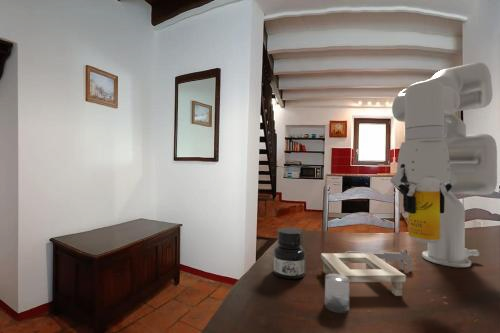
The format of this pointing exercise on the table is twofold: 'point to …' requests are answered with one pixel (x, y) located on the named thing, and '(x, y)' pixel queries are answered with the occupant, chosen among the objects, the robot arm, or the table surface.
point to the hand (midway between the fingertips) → (423, 211)
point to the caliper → (393, 257)
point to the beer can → (426, 212)
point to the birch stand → (372, 273)
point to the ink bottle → (289, 254)
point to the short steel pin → (337, 293)
